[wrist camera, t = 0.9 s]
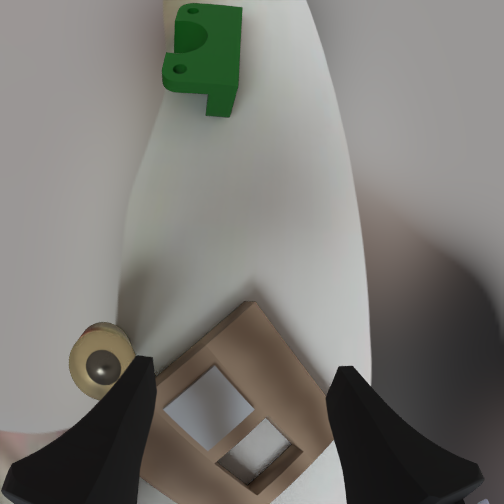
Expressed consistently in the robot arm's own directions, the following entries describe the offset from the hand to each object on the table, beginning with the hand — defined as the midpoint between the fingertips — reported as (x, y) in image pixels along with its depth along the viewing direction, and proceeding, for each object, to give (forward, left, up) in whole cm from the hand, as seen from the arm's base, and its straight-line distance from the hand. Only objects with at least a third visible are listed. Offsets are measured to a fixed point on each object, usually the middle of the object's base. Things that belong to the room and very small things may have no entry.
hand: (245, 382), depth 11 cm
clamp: (+15, +19, -13) cm, 27 cm away
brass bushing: (-5, +3, -12) cm, 14 cm away
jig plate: (-2, -9, -12) cm, 15 cm away
